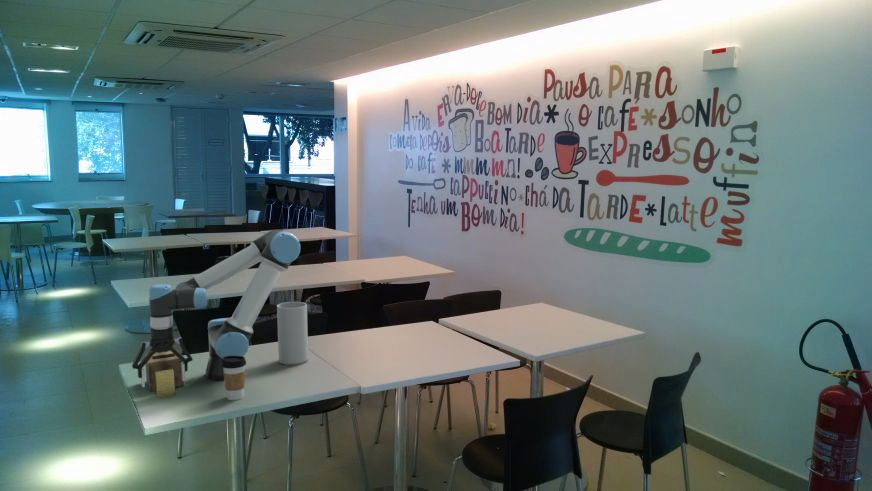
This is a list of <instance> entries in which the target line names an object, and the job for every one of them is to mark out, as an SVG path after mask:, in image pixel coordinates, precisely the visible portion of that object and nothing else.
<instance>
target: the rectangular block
mask: <svg viewBox="0 0 872 491" xmlns="http://www.w3.org/2000/svg"><path fill="white" fill-rule="evenodd" d="M155 380H156V390H155V393H156V397H157V398H158V399H159V398H164V397H170V396H175V395H176V389H175V388H176V387H175V384H174V371H173V369H170V370H163V371H157V372H155Z"/></svg>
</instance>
